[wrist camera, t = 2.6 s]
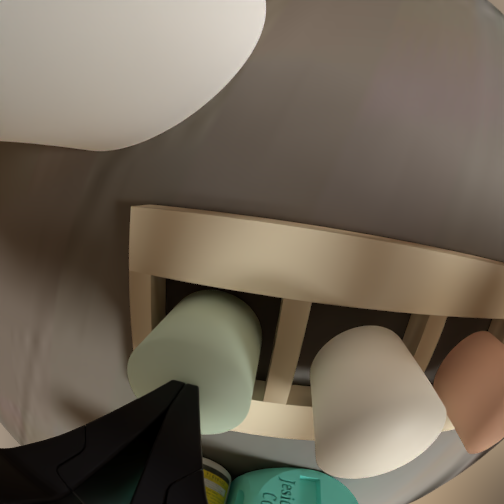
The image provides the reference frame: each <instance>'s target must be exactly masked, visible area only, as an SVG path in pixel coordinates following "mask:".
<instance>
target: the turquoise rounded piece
mask: <svg viewBox="0 0 504 504" xmlns="http://www.w3.org/2000/svg"><path fill="white" fill-rule="evenodd" d="M226 504H358V502H357V500H356V498H355V497H354V496H353V494H352V493H351V492H350V491H349V490H348V488H347V487H345V486H344V485H343V484H342V483H340V482H339V481H338V480H336V479H334V478H333V477H331V476H329V475H327V474H324V473H322V472H319V471H315V470H311V469H304V468H289V467H282V468H267V469H260V470H255V471H251V472H248V473H245V474H243V475H241V476H238V477H237V478H235V479H234V480H233V481H232V482H231V485H230V490H229V494H228V497H227V501H226Z"/></svg>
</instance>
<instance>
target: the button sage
mask: <svg viewBox="0 0 504 504" xmlns="http://www.w3.org/2000/svg"><path fill="white" fill-rule="evenodd" d="M262 337H263V336H262V328H261V324H260V322H259V319H258V318H257V316H256V314H255V313H254V311H253V310H252V309H251V308H250V307H249V306H248V305H247V304H246V303H245V302H244V301H242V300H241V299H239V298H238V297H236V296H234V295H232V294H230V293H227V292H224V291H219V290H201V291H197V292H194V293H192V294H189V295H188V296H186V297H185V298H183V299H182V300H181V301H180V302H179V303H178V304H177V305H176V306H175V307H174V308H173V310H172V311H171V312H170V313H169V314H168V315H167V316H166V317H165V318H164V319H163V320H162V321H161V322H160V323H159V324H158V325H157V326H156V327H155V328H154V329H153V331H152V332H151V333H150V334H149V335H148V336H147V337H146V338H145V339H144V340H143V341H142V342H141V343H140V344H139V345H138V346H137V347H136V349H135V350H134V351H133V352H132V354H131V356H130V358H129V360H128V364H127V375H128V380H129V383H130V386H131V388H132V390H133V392H134V394H135V396H136V397H137V399H138V398H140V397H142V396H144V395H145V394H147V393H149V392H151V391H153V390H155V389H156V388H158V387H160V386H162V385H164V384H165V383H167V382H169V381H171V380H177V381H181V382H184V383H185V384H187V383H189V384H192V385H197V386H198V387H199V401H200V425H201V434H218V433H223V432H227V431H229V430H231V429H233V428H235V427H237V426H238V425H239V424H241V423H242V422H243V420H244V419H245V418H246V416H247V414H248V412H249V409H250V404H251V399H252V394H253V389H254V383H255V378H256V373H257V367H258V362H259V356H260V351H261V345H262Z"/></svg>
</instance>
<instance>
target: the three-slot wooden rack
mask: <svg viewBox="0 0 504 504" xmlns="http://www.w3.org/2000/svg"><path fill="white" fill-rule="evenodd" d="M166 278H168V279H174V280H179V281H184V282H189V283H195V284H200V285H206V286H212V287H217V288H223V289H229V290H235V291H241V292H247V293H253V294H260V295H266V296H273V297H279V298H282V300H281V305H280V311H279V316H278V322H277V327H276V333H275V338H274V343H273V349H272V354H271V359H270V364H269V369H268V374H267V379H266V381H261V380H255V383H254V389H253V394H252V399H251V404H250V409H249V412H248V414H247V416H246V418H245V419H244V420H243V422H242V423H241V424H239V425H238V426H237V427H235V428H233V429H231V431H236V432H242V433H248V434H254V435H261V436H269V437H277V438H287V439H299V440H315V436H314V421H313V408H312V395H311V387H310V386H300V385H292V382H293V378H294V374H295V370H296V367H297V363H298V359H299V355H300V351H301V347H302V343H303V339H304V334H305V330H306V326H307V321H308V317H309V313H310V308H311V303H312V302H315V303H322V304H330V305H338V306H346V307H355V308H364V309H373V310H382V311H392V312H403V313H412V314H411V317H410V320H409V323H408V326H407V329H406V331H405V334H404V337H403V340H402V341H403V343H404V344H405V346H406V347H407V349H408V350H409V352H410V353H411V354H412V356H413V357H414V359H415V360H416V362H417V363H418V365H419V366H420V368H421V369H422V371H423V372H425V370H426V368H427V366H428V364H429V361H430V359H431V357H432V355H433V352H434V350H435V348H436V345H437V343H438V340H439V338H440V335H441V333H442V330H443V327H444V325H445V322H446V319H447V316H453V317H469V318H489V319H492V321H491V324H490V327H489V329H488V332H490V333H491V334H492V335H493V336H495V337H496V338H497V339H498V340H499V341H500V342H502V343H503V344H504V263H503V262H499V261H495V260H490V259H486V258H482V257H478V256H473V255H469V254H464V253H460V252H455V251H451V250H446V249H441V248H436V247H432V246H427V245H422V244H417V243H412V242H406V241H401V240H396V239H391V238H385V237H380V236H374V235H369V234H363V233H357V232H352V231H346V230H340V229H334V228H328V227H321V226H315V225H309V224H302V223H296V222H289V221H282V220H275V219H268V218H261V217H254V216H246V215H239V214H231V213H223V212H215V211H206V210H198V209H189V208H180V207H170V206H161V205H151V204H148V205H139V206H131V215H130V237H129V293H130V315H131V329H132V341H133V351H134V350H135V349H136V347H137V346H138V345H139V344H140V343H141V342H142V341H143V340H144V339H145V338H146V337H147V336H148V335H149V334H150V333H151V332H152V331H153V329H154V328H155V327H156V326H157V325H158V324H159V323H160V322H161V321H162V320H163V319H164V318H165V317H166ZM453 429H455V428H454V426H453V424H452V423H451V421H450V419H449V417H448V416H447V414H446V421H445V424H444V427H443V429H442V431H441V432H443V431H448V430H453Z"/></svg>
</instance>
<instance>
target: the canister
mask: <svg viewBox="0 0 504 504" xmlns="http://www.w3.org/2000/svg"><path fill="white" fill-rule="evenodd" d="M265 16H266V2H265V0H0V141H7V142H20V143H32V144H42V145H51V146H59V147H67V148H75V149H82V150H89V151H110V150H117V149H122V148H126V147H129V146H133V145H136V144H138V143H141V142H144V141H146V140H149V139H151V138H153V137H155V136H157V135H159V134H161V133H163V132H165V131H167V130H169V129H170V128H172V127H174V126H175V125H177V124H179V123H180V122H182V121H183V120H185V119H186V118H188V117H189V116H191V115H192V114H193V113H195V112H196V111H197V110H199V109H200V108H201V107H202V106H204V105H205V104H206V103H207V102H209V101H210V100H211V99H212V98H213V97H214V96H215V95H216V94H218V93H219V92H220V91H221V90H222V89H223V88H224V87H225V86H226V85H227V84H228V83H229V82H230V80H231V79H232V78H233V77H234V76H235V75H236V74H237V72H238V71H239V70H240V69H241V67H242V66H243V65H244V63H245V62H246V60H247V59H248V58H249V56H250V54H251V53H252V51H253V49H254V48H255V46H256V44H257V42H258V40H259V37H260V35H261V32H262V29H263V26H264V22H265Z"/></svg>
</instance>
